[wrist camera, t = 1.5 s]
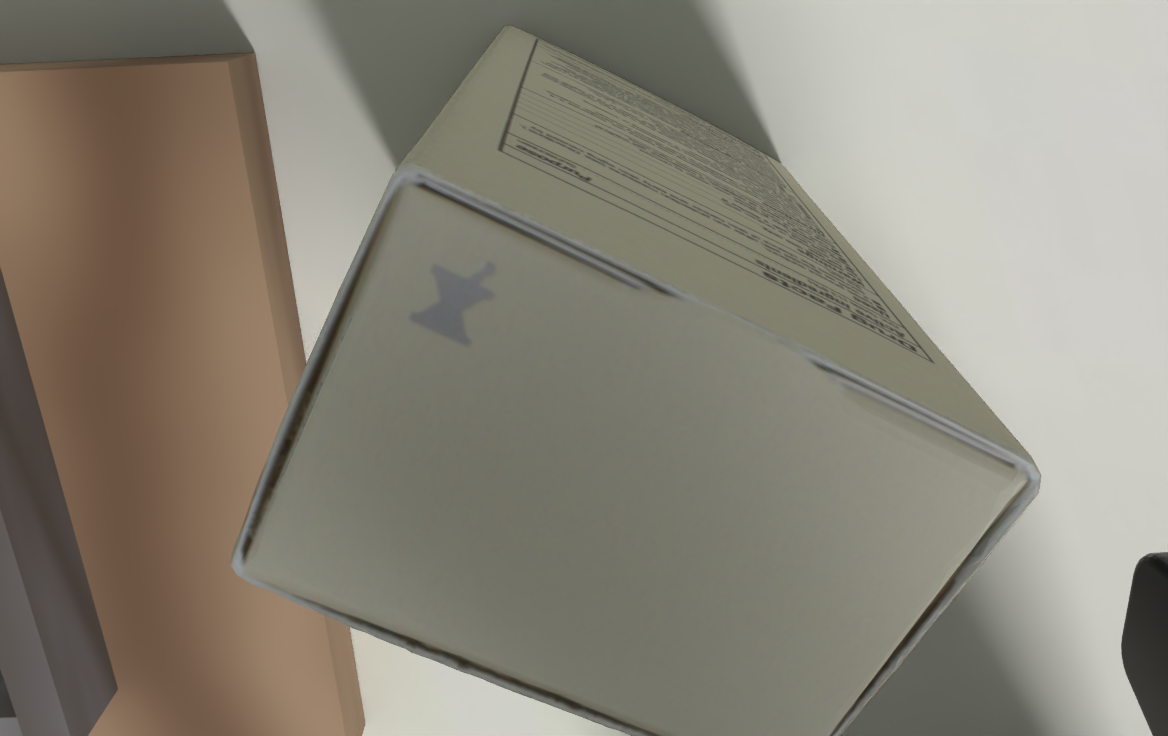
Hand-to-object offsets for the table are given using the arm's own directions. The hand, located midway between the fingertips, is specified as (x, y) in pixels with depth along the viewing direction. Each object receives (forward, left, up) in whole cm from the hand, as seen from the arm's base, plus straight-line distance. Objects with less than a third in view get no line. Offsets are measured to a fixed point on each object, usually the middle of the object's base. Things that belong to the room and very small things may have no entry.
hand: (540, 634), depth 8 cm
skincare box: (-1, 0, -14) cm, 14 cm away
